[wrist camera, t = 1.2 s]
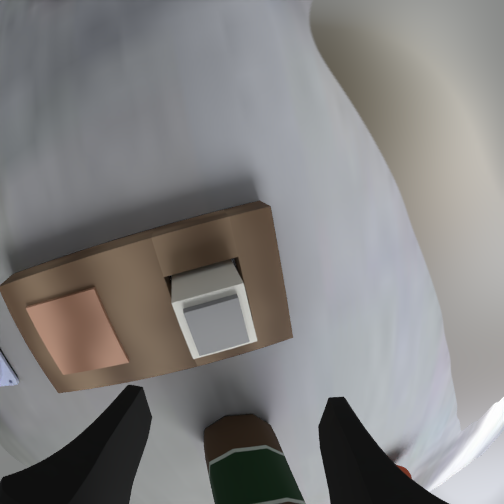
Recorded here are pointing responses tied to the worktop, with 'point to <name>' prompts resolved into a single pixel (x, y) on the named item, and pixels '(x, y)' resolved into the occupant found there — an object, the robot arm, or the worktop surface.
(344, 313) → the worktop surface
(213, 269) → the plug
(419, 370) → the worktop surface
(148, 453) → the worktop surface
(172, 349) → the brown wooden flat block
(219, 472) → the beer bottle
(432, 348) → the worktop surface
